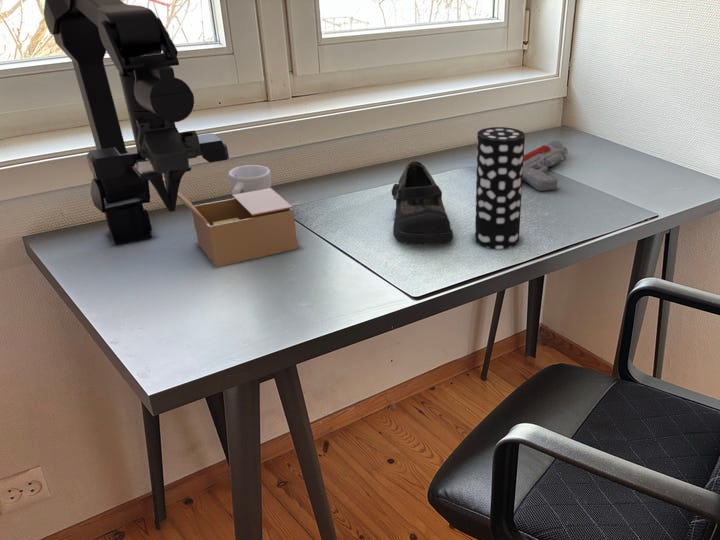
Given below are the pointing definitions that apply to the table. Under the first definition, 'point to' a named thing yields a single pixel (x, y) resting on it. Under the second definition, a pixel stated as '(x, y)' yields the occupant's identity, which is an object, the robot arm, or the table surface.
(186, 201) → the flap
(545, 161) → the toy gun
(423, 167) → the shoe
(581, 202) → the table surface
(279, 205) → the carton
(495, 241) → the spotted tube
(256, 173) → the cup
